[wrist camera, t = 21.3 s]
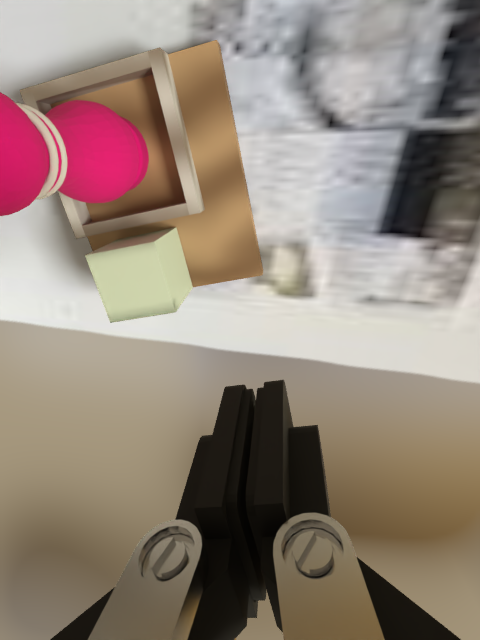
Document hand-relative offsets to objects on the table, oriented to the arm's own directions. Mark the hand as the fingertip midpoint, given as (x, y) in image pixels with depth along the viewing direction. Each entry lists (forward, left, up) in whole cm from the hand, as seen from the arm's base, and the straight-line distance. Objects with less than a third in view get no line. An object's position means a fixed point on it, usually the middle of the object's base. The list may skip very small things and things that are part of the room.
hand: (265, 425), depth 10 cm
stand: (-6, -10, -27) cm, 30 cm away
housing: (0, -12, -26) cm, 28 cm away
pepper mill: (-10, -13, -26) cm, 30 cm away
